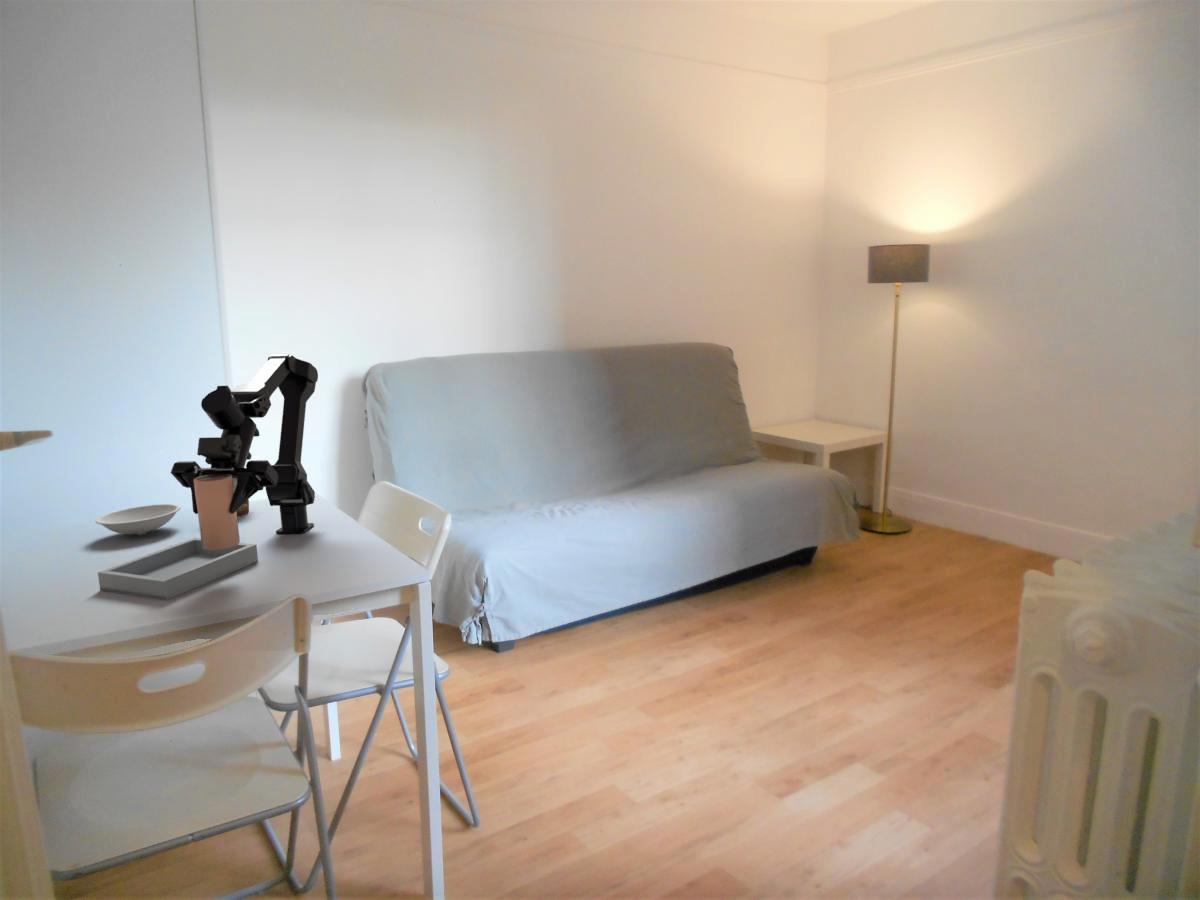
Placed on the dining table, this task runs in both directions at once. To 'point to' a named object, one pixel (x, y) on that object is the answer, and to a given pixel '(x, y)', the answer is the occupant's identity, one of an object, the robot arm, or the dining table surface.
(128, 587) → the tray
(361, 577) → the dining table surface
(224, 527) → the cup
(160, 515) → the dish
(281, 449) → the robot arm
